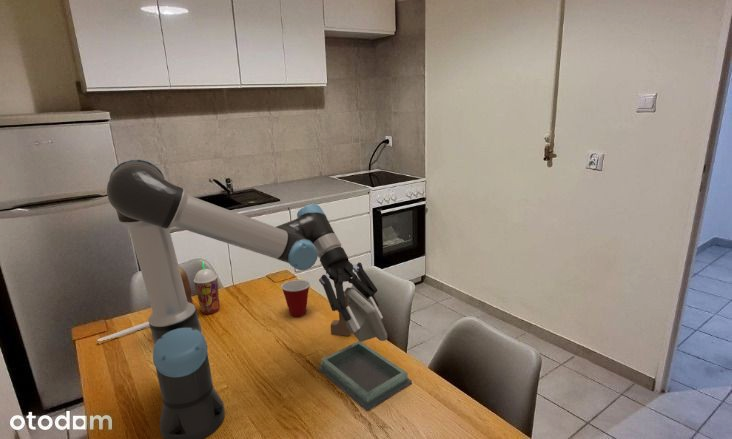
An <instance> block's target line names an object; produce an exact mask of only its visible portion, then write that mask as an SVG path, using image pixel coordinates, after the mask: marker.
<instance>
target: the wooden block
mask: <svg viewBox="0 0 732 439" xmlns="http://www.w3.org/2000/svg"><path fill="white" fill-rule="evenodd" d="M344 297H345V304H346V307H348V306H349V307H350V306H351V305H350V304H349V301H348V299H347V297H346V295H345V290H344ZM351 334H352V333H351V331H350V330H349V329H348V328H347V327H346V321H345V319H344V318H343V316H342V314H341V312H338V319H333V320H332V321H331V323H330V335H336V336H344V337H345V336H346V337H351V336H350V335H351Z"/></svg>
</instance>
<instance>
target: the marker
mask: <svg viewBox="0 0 732 439" xmlns="http://www.w3.org/2000/svg"><path fill="white" fill-rule="evenodd" d="M147 327H148V328H150V325H149V322H148V321H146V322H144V323H140V324H137V325H134V326H132V327H128V328H126V329H123V330H119V331H118V332H115V333H112V334H108V335H106V336H103V337H100V338H98V339H96V341H103V340H107V339H111V338H115V337H119V336H122V335H125V334H128V333H131V332H134V331H137V330H140V331H142V330H141V329H143V330H145V329H144V328H146V329H147ZM137 332H138V331H137ZM134 333H135V332H134Z"/></svg>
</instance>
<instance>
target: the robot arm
mask: <svg viewBox="0 0 732 439" xmlns="http://www.w3.org/2000/svg"><path fill="white" fill-rule="evenodd" d="M106 186H107V187H106V196H107V199H108V201H109V203H110V205H111V206H112V207H113V209H114V210H115V212H116V215H117V217H118V218H117V219H118V221H119V223H120V224H122V225H124V226H126V227H128V231H129V234H130V237H131V240H132V245H133V249H134V251H135V255H136V258H137V263H138V265H139V270H140V272H141V277H142V280H143V282H144V287H145V290H146V294H147V297H148V301H149V304H150V309H151V311H152V312H151V314H150V316H148V318H147V319H148V320H147V322H149V325H150V327H149V329H150V332H151V336H152V339H153V343H154V345H153V349H152V360H153V365H154V367H155V370H156V375H157V380H158V384H159V390H160V395H161V399H162V408H161V413H160V420H159V429H160V434H162V435H161V437H162V438H163V439H202V438H203V439H205V438H207V437H209V436H210V435H211V434H213V433H214V432H215V431H216V430H217V429H218V428H219V427H220V426H221V425H222V423H223V422H224V418H225V416H226V414H225V413H226V410H225V405H224V402H223V400H222V398H221V397H220V395H219V393H218V392H217V391H216V389H215V388H214V384H213V378H212V371H211V365H210V360H209V355H208V353H209V352H208V343H207V340H206V339H205V336H204V334H203V333H202V327H201V323H200V320H199V317H198V316H199V315H198V316H197V312H196V308H197V307H196V308H195V306H196V305H195V304H194V305H195V306H194V305H193V304H192V303H189V302H188V301H187V298H186V294H185V290H184V286H183V282H182V278H181V274H180V270H179V267H180V265H179V262H178V258H177V255H176V250H175V246H174V242H173V238H172V234H171V231H170V229H172V228H174V227H175V228H177V229H178V228H179V229H182V230H185V231H188V232H191V233H195V234H198V235H200V236H204V237H207V238H209V239H212V240H213V239H214V240H217V241H219V242H223V243H226V244H229V245H232V246H235V247H238V248H240V249H245V250H248V251H251V252H253V253H257V254H259V255H263V256H266V257H269V258H273V259H275V260H278V261H281V262H284V263H287V264H289V265H290V266H291V267H293V268H294V269H295V270H299V271H306V270H309V269H311V268H312V267H313V266H315V264H316V262H317V260H318V258H319V262H320V265H321V266H322V268H323V270H324V271H325V274H322V275H321V276H320V277H319V279H318V281H319V283H320V284H321V285H322V287H323V289H324V292H325V294H326V298H327V300H328V303H329V305H330V309H331V311H333V312H335V311H337V312H338V313H339V312H341V314H342V316H343V318H344V319H345V321H348V322H349V324H350V326H351V328H352V330H353V332H356V331H357V330H359V329H360V326H359V324H358V322H357V320H356V319H355V317H354V315H353V313H352V311H351V309H350V307H349V306H348V307H346V304H345V297H344V291H345V289H344V285H343V284H344V283H346V282H348V283H349V284H351V285H352V286H353V287H355V288H356V290H357V291H359V292H360V294H362V295H363V296H364V297H365V299H366V300H367V301H368V302H369V303H370V304H371V305H373V306H374V307H375V308H376V310H377V312H378V314H379V317H380V319H381V320H382V319H383V318H384V317H383V315H382V312H381V311H380V309H379V302H378V301H377V299H376V297H375V294H376V293H377V292H378V288H377V287H376V286H375V284H374V283H373V280H371V278H370V277H369V275H368V274H367V272H366V271H365V270H364V267H363V264H362V262H361V261H360V262H358V263H356V264H353V263H351V262H350V260H349V256H348V254H347V253H346V251H345V249H344V248H343V247H342V243H341V241H340V240H339V238H338V236H337V234H336V233H335V231H334V229H333V227H332V225H331V223H330V222H329V220H328V218H327V215H326V214H325V212H324V210H323V209H322V207H321V206H320V205H319V204H316V203H310V204H307V205H305V206H304V207H302V208H299V210H298V211H297V213H296V217H297V218H295V219H293V220H290V221H288V222H285V223H282V224H279V225H277V226H273V225H271V224H268V223H266V222H263V221H260V220H257V219H255V218H251V217H250V216H249V217H248V216H246V215H244V214H241V213H239V212H236V211H233V210H230V209H227V208H224V207H222V206H220V205H219V206H218V205H216V204H214V203H211V202H208V201H205V200H203V199H200V198H197V197H194V196H192V195H189V194H187V192H186V189H185V188H183V187H180V186H178V185H176V184H173V183H171V182H170V181H168V180H166V179H165V176H164V174H163V172H162V171H161V170H160V168H159V167H158V166H156V165H155V164H154V163H152V162H150V161H148V160H144V159H129V160H126V161H123V162H120V163H119V164H117V165H116V166H115V167H114V168H113V170H112V172H110V175H109V180H108V182H107V185H106ZM330 280H331V281H333V285H334V288H335V291H334V288H333V285H332V283H331V281H330Z"/></svg>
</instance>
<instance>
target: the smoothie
mask: <svg viewBox="0 0 732 439" xmlns="http://www.w3.org/2000/svg"><path fill="white" fill-rule="evenodd" d="M201 263H202V264H201V265H202V269H200V270H198V271H197V272H196V274H195V275H194V279H193V282H194V287H195V291H196V295H197V299H198V302H199V303H198V304H199V307H200V308H199V309H200V311H201V312H202V313H203V314H205V315H213V314H215V313H217V312H218V311H219V308H220V297H219V296H220V295H219V284H218V275H217V274H216V273H215V272H214V270H213V269H210V268H206V267H205V262H204V261H203V262H201Z"/></svg>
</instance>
